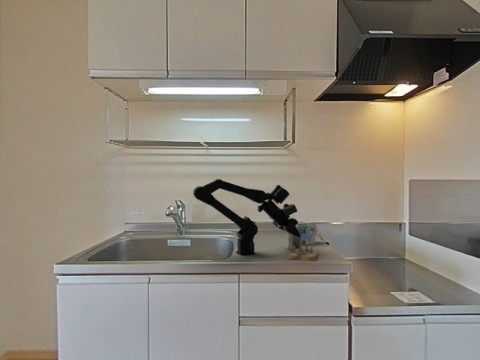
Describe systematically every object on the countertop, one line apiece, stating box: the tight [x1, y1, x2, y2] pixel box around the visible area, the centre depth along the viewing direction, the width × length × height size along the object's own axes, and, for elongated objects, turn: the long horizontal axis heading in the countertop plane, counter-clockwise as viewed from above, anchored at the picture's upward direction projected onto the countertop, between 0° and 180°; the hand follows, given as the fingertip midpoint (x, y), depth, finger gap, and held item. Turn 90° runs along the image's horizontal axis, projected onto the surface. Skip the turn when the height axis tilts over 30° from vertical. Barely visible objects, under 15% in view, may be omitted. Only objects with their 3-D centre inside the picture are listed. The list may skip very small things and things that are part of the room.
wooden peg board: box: [286, 244, 318, 261], centre depth 152 cm, size 11×12×4 cm
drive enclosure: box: [287, 227, 301, 251], centre depth 164 cm, size 4×5×10 cm
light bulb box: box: [296, 219, 316, 246], centre depth 179 cm, size 11×7×11 cm, turn 115°
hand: (297, 235), depth 164 cm, fingers closed on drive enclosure, 5 cm apart
